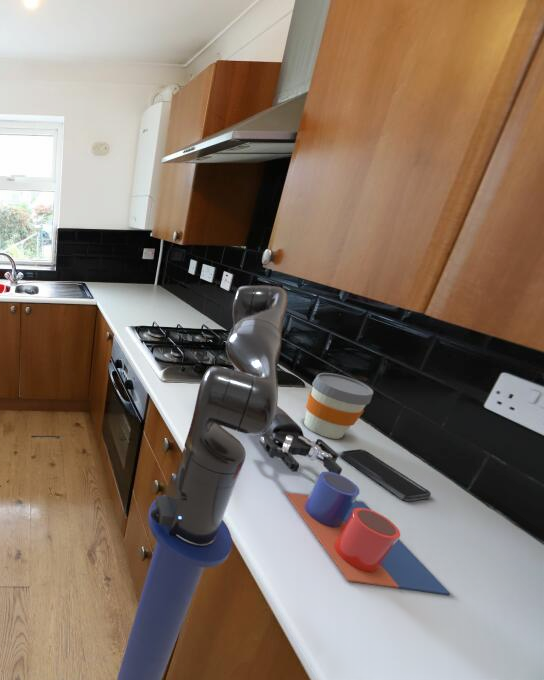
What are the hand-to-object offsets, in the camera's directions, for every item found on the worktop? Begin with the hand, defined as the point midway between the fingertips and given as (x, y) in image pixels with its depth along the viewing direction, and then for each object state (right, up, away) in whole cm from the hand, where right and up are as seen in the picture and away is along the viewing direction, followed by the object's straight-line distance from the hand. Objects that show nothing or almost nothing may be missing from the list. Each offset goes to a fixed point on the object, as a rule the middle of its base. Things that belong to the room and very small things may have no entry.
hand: (317, 471), depth 74 cm
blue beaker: (-1, -8, -2) cm, 8 cm away
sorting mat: (+2, -10, -7) cm, 13 cm away
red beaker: (-2, -11, -11) cm, 16 cm away
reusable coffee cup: (+23, +2, +27) cm, 35 cm away
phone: (+23, -5, +10) cm, 26 cm away
